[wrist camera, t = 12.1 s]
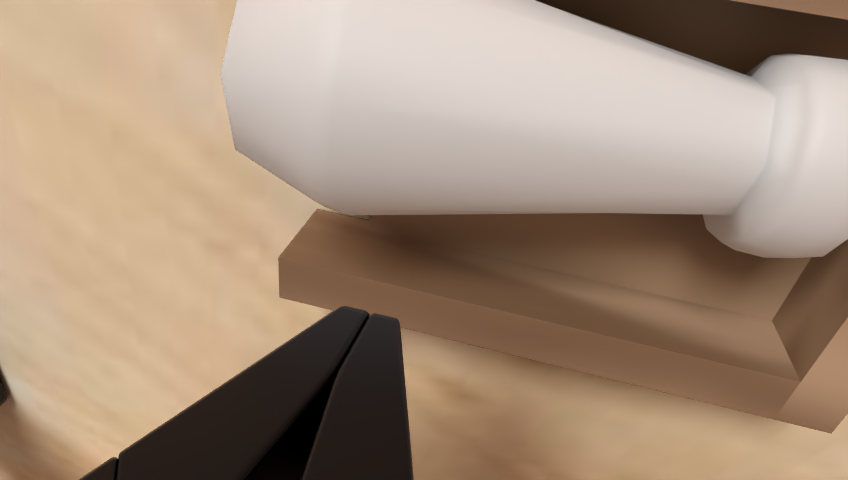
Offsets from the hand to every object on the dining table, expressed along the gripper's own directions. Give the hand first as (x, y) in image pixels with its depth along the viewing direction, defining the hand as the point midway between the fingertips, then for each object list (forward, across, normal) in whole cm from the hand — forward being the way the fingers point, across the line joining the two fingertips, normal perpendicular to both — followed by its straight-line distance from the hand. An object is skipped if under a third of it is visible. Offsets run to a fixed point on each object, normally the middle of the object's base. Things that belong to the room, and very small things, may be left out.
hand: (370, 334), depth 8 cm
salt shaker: (+6, +5, -1) cm, 8 cm away
